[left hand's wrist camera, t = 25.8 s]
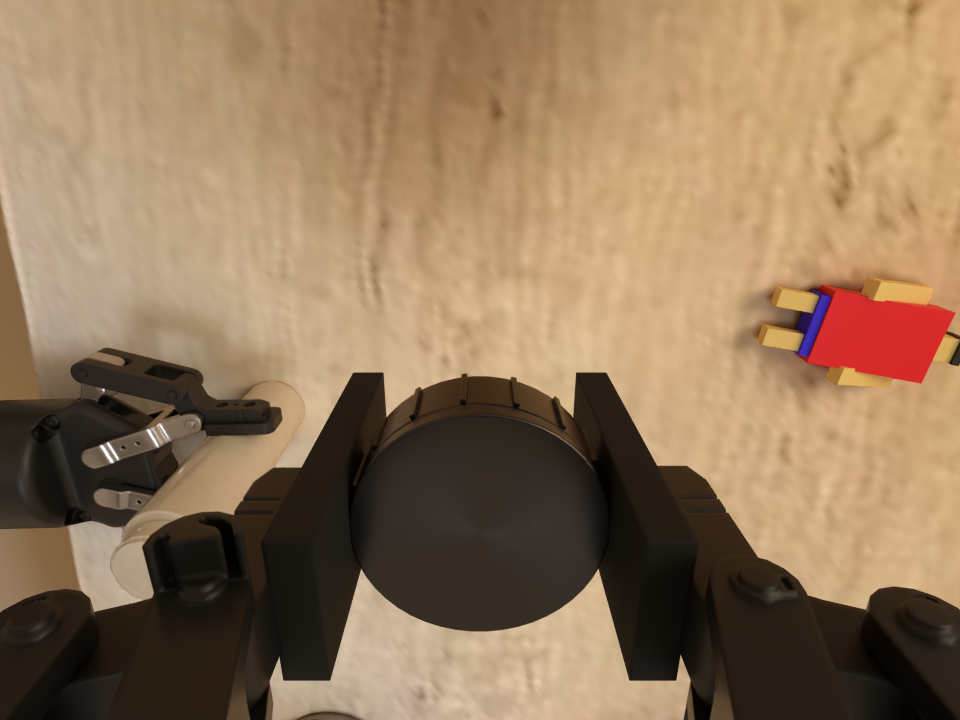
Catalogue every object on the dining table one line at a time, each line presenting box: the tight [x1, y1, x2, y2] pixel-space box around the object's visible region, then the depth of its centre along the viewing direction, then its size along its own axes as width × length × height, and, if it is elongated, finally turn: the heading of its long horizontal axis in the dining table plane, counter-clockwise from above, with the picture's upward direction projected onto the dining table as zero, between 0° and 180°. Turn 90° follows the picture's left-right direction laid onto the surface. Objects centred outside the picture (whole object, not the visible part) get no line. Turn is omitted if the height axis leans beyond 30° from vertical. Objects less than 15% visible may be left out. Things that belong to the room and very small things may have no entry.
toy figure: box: [757, 277, 960, 387], centre depth 37 cm, size 2×7×12 cm
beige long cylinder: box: [110, 381, 305, 600], centre depth 33 cm, size 4×4×16 cm
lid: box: [349, 374, 610, 631], centre depth 11 cm, size 5×5×2 cm
